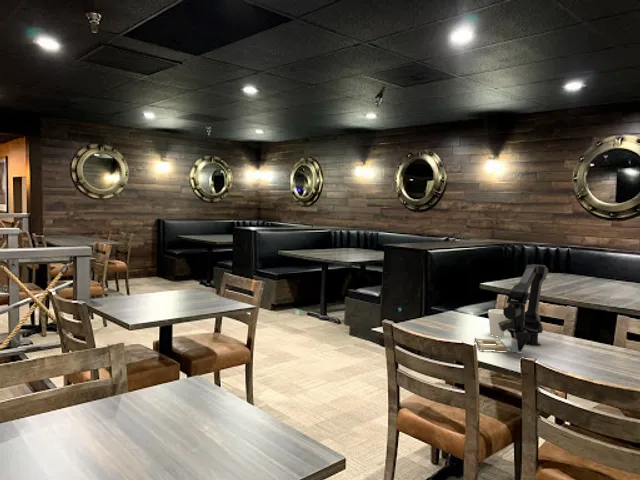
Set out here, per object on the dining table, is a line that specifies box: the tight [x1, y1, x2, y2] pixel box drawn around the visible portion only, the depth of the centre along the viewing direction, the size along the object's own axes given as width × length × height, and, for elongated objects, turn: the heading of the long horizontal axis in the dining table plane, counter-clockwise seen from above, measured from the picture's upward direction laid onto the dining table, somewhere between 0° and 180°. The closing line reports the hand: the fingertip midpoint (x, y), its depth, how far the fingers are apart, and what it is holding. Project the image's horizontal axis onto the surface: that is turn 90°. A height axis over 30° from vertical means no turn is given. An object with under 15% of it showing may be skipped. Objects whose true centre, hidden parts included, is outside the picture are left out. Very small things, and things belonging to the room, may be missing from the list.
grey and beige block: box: [510, 338, 524, 353], centre depth 227 cm, size 4×4×6 cm
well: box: [474, 337, 508, 351], centre depth 234 cm, size 14×12×2 cm
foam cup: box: [487, 308, 508, 338], centre depth 253 cm, size 10×9×13 cm
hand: (516, 348), depth 227 cm, fingers open, 9 cm apart
